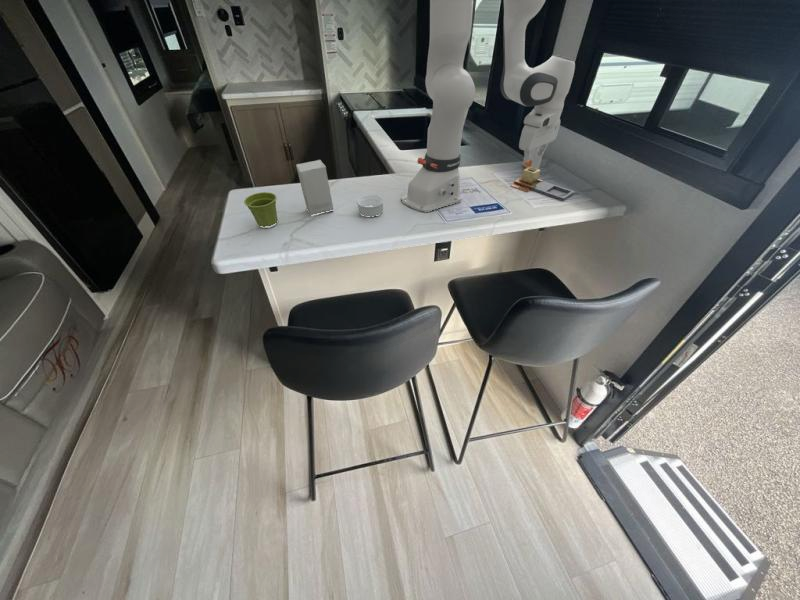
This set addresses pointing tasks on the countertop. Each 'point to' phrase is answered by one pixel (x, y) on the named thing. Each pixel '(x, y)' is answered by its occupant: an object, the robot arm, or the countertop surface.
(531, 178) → the yellow square block
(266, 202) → the plant pot
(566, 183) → the countertop surface
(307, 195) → the skincare box
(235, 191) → the countertop surface
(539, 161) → the skincare box
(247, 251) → the countertop surface
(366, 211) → the ramekin
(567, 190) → the rail
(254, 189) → the countertop surface
